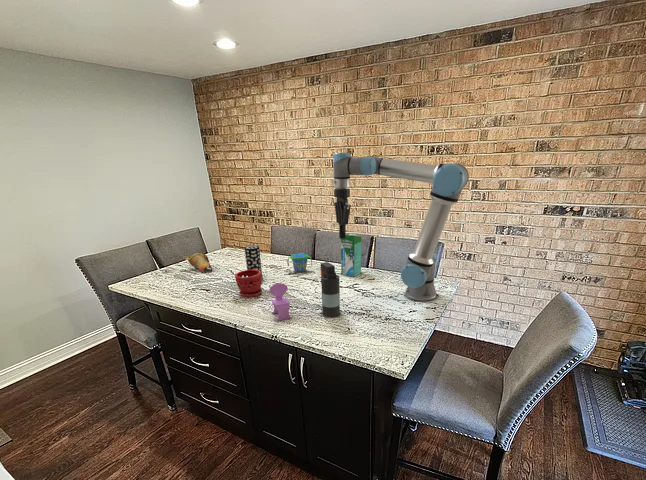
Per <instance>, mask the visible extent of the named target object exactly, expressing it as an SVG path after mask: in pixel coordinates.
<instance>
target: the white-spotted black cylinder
mask: <svg viewBox="0 0 646 480" xmlns="http://www.w3.org/2000/svg"><path fill="white" fill-rule="evenodd" d="M243 249H244V257H245V265H246V270H259V271H260V272H261V279H262V282H263V280H264V278H263V268H262V261H261V250H260V246H259V245H248V246H247V245H246V246H244V247H243ZM250 276H253V275H250Z"/></svg>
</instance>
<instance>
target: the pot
mask: <svg viewBox="0 0 646 480" xmlns="http://www.w3.org/2000/svg"><path fill="white" fill-rule="evenodd" d="M182 258H183V259H184V260H186V261H187V262H188V263H189V265H191V266H192V268H196V269H198V270H199V271H200V272H202V273H204V270H205V268H209V269H210V271H211V272H212V271H213V269H212V265H211V264H210V260H209V257H208V255H207V254H205V253H204V252H200V251H199V252H194V253H193V254H191V255H183V256H182Z"/></svg>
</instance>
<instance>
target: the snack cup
mask: <svg viewBox="0 0 646 480" xmlns="http://www.w3.org/2000/svg"><path fill="white" fill-rule="evenodd" d="M308 258H309V260H310V261H311V262H310V266H311V267H312V266H313V259H312V257H311V256H310V255H309V254H307V253H303V252H302V253H299V252H297V253H293V254H291V255H290V256H289V257H288V258H287V260H286V262H287V263H286V264H287V266H288V267H289V266H290V263H289V261H290V260H289V259H291V261H292V267H293V270H294V272H296V273H304V272H306V271H307V265H308Z"/></svg>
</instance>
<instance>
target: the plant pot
mask: <svg viewBox="0 0 646 480" xmlns="http://www.w3.org/2000/svg"><path fill="white" fill-rule="evenodd" d="M250 275H253V276H250ZM234 279H235V282H236V286H237V288H238V290H239V295H241V297H244V298H253V297H257V296H259V295H260V294H262V293H263V289H262V282H263V281H262V279H261V272H260V271H259V270H247V269H244V270H241V271H239V272H236V273H235V274H234Z"/></svg>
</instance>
